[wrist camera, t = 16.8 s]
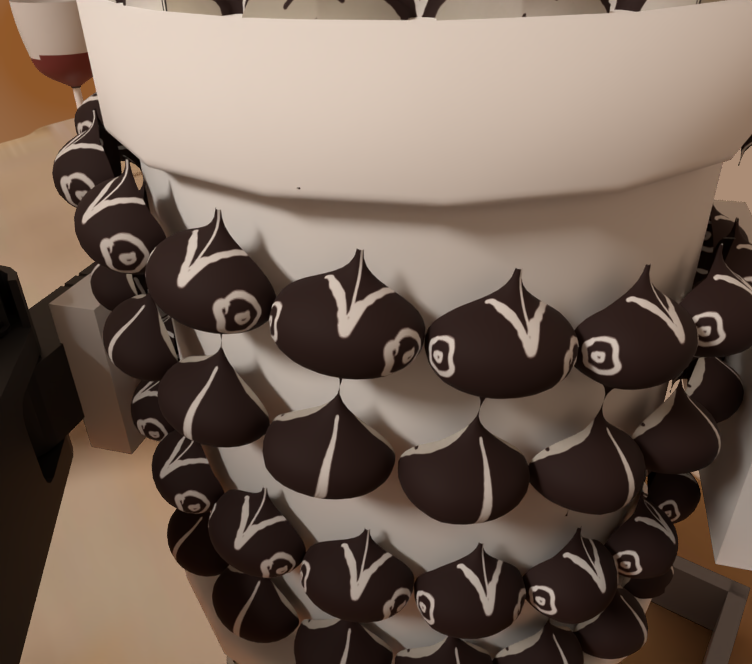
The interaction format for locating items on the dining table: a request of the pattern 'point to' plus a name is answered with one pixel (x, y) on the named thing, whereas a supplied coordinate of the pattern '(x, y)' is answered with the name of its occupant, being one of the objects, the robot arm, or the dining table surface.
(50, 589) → the dining table surface
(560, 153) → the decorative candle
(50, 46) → the wineglass
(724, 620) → the charcoal holder
